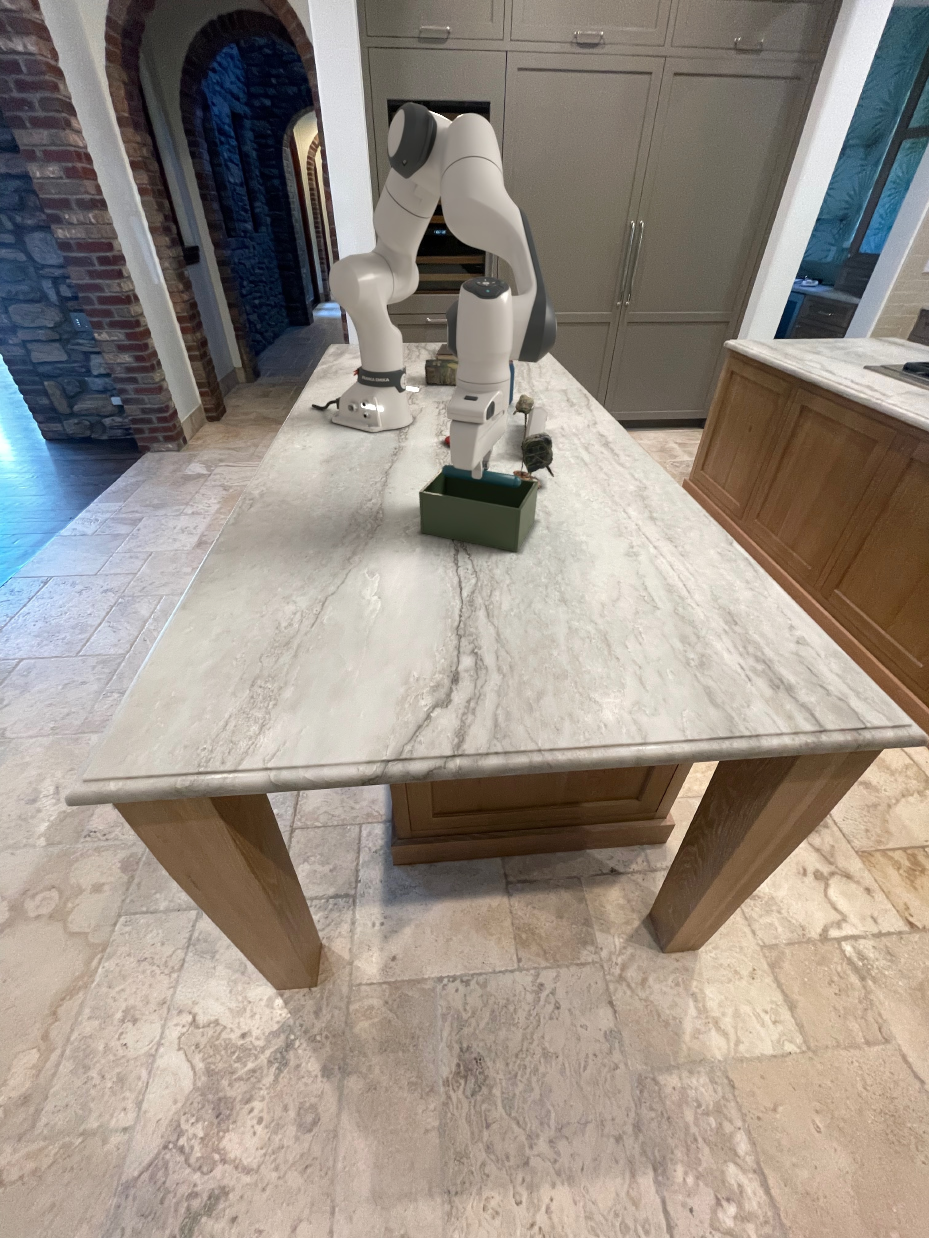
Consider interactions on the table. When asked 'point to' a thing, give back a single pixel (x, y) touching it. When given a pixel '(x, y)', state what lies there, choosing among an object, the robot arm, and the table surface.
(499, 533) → the bin
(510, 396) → the soda can
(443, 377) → the juice carton
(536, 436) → the plant with pod
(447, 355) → the hardcover book
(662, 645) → the table surface
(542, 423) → the white square bar
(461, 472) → the teal rod
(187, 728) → the table surface
